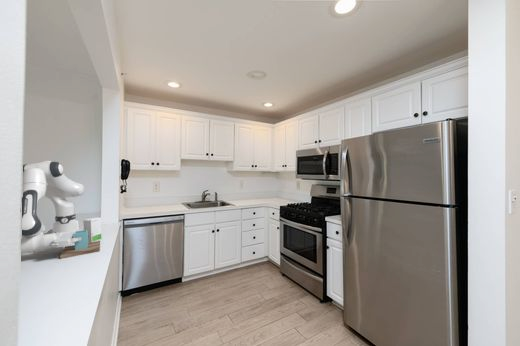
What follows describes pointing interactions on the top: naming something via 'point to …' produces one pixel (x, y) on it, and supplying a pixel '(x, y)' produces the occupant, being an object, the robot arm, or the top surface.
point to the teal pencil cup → (82, 243)
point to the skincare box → (93, 229)
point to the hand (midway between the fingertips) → (82, 236)
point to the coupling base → (71, 251)
